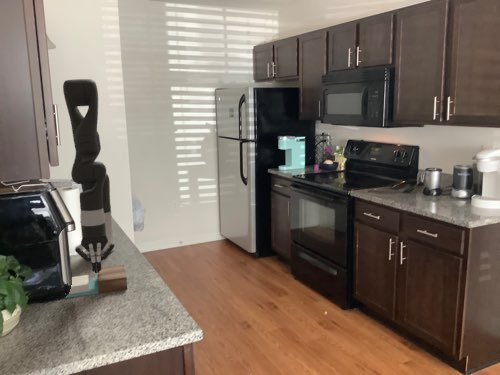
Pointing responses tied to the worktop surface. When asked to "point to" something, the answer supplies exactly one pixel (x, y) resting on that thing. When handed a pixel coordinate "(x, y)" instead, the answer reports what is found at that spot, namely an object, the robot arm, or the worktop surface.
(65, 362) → the worktop surface
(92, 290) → the mat
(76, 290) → the tile
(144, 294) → the worktop surface
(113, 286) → the board
